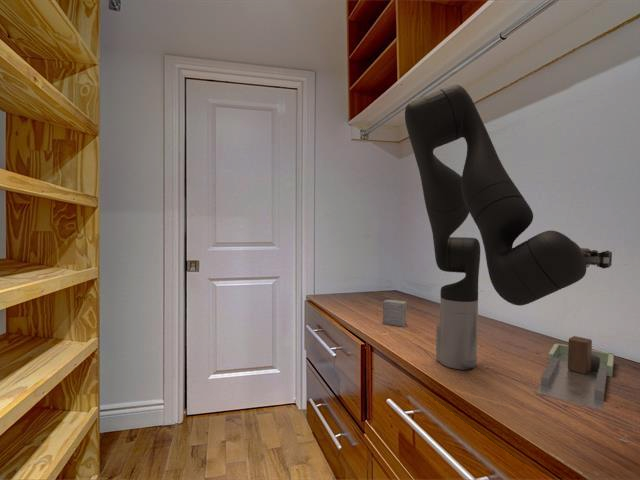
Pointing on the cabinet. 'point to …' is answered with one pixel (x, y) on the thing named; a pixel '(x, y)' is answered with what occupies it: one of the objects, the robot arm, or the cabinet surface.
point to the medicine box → (394, 312)
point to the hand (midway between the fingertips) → (565, 254)
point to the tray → (603, 356)
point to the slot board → (574, 383)
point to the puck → (595, 363)
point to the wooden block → (579, 354)
